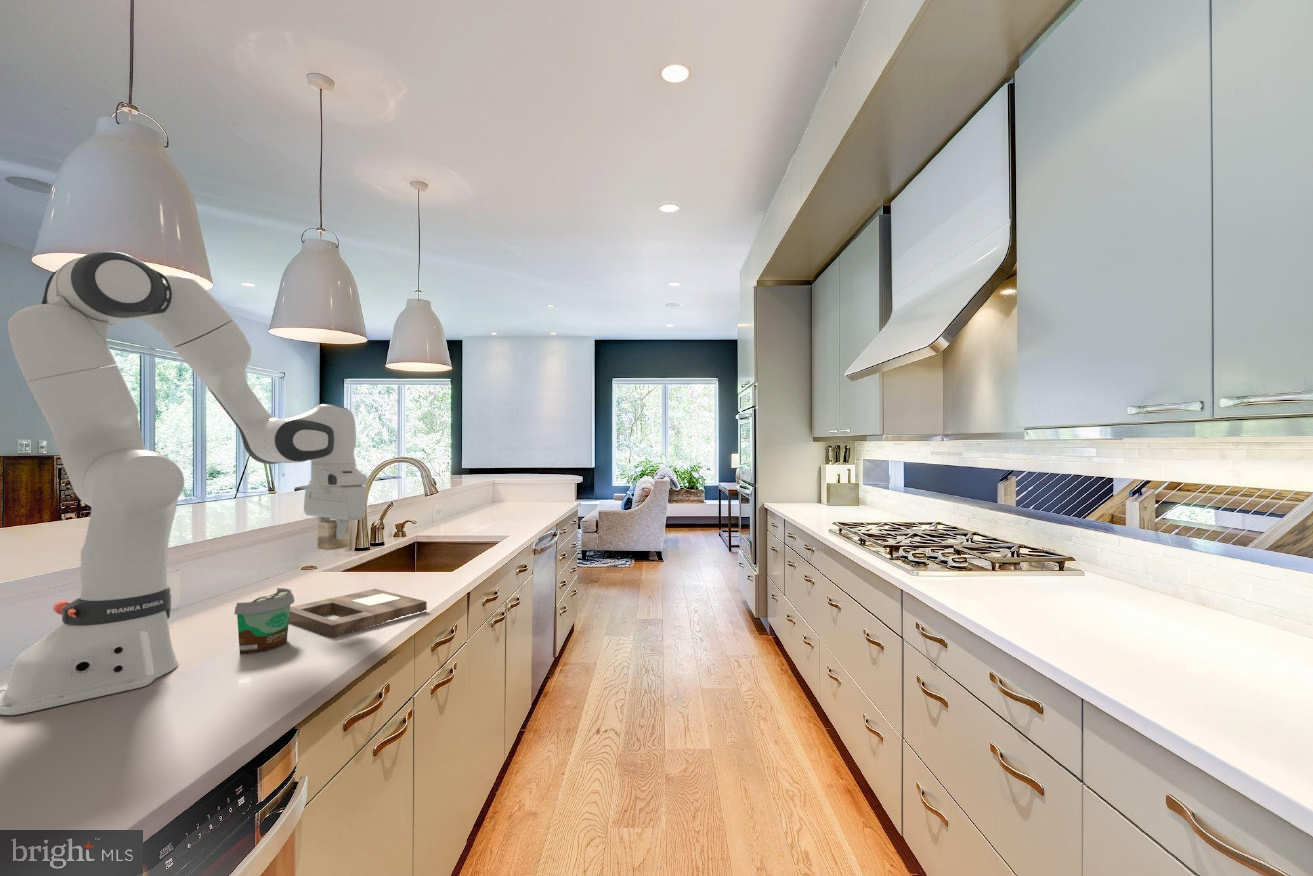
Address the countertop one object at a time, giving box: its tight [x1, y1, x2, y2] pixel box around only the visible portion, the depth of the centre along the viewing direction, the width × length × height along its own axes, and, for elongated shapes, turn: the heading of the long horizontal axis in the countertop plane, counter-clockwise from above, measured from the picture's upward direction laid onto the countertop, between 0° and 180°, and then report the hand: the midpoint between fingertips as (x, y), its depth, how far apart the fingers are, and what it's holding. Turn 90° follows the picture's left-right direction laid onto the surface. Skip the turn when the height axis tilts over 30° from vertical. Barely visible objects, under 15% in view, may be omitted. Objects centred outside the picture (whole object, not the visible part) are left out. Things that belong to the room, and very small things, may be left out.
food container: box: [234, 587, 295, 655], centre depth 113 cm, size 12×6×10 cm, turn 179°
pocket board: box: [289, 588, 428, 638], centre depth 133 cm, size 22×22×3 cm
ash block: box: [317, 519, 350, 551], centre depth 129 cm, size 4×4×6 cm
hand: (332, 537), depth 129 cm, fingers closed on ash block, 4 cm apart
